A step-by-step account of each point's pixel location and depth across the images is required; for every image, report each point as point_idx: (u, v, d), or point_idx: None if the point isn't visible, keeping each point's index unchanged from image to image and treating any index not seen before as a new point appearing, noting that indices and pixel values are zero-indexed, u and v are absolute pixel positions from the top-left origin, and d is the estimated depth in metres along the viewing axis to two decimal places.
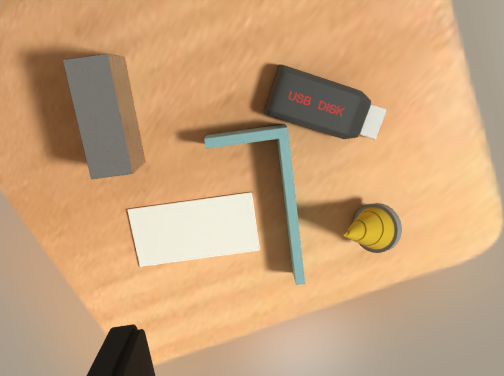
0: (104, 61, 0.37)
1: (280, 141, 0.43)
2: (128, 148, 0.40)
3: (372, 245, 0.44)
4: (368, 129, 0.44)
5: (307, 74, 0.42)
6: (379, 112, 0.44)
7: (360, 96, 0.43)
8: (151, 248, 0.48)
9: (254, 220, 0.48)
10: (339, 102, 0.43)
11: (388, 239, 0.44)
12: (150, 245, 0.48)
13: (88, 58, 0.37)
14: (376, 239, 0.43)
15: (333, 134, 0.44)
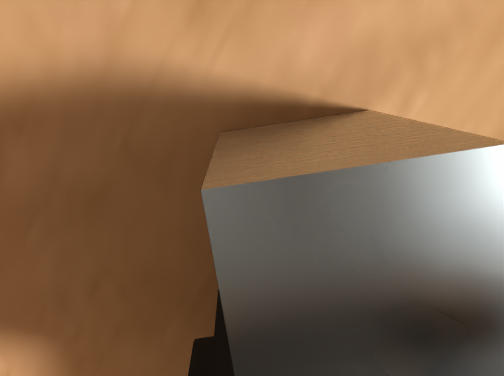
0: (482, 192, 0.05)
1: None
2: None
3: None
4: None
5: None
6: None
7: None
8: None
9: None
10: None
11: None
12: None
13: (378, 175, 0.05)
14: None
15: None
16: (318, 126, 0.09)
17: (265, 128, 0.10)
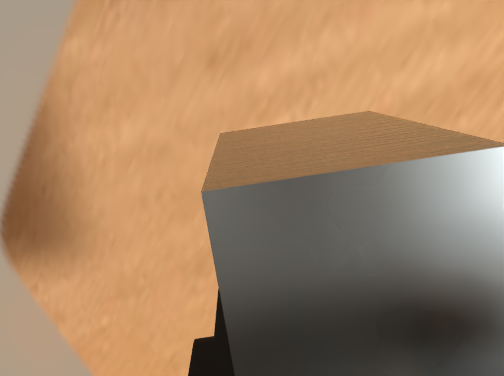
0: (480, 194, 0.05)
1: None
2: None
3: None
4: None
5: None
6: None
7: None
8: None
9: None
10: None
11: None
12: None
13: (377, 177, 0.05)
14: None
15: None
16: (318, 127, 0.09)
17: (265, 129, 0.11)
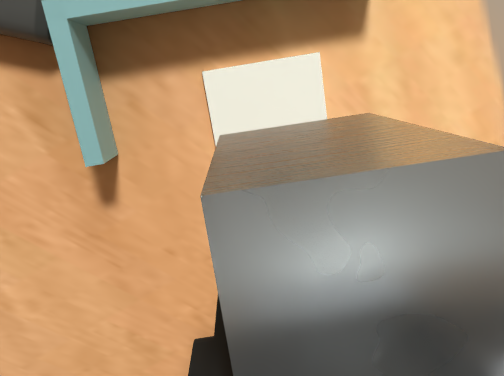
0: (481, 198, 0.05)
1: (72, 15, 0.21)
2: None
3: None
4: None
5: None
6: None
7: None
8: None
9: (257, 64, 0.25)
10: None
11: None
12: None
13: (377, 181, 0.05)
14: None
15: None
16: (318, 129, 0.09)
17: (265, 131, 0.11)
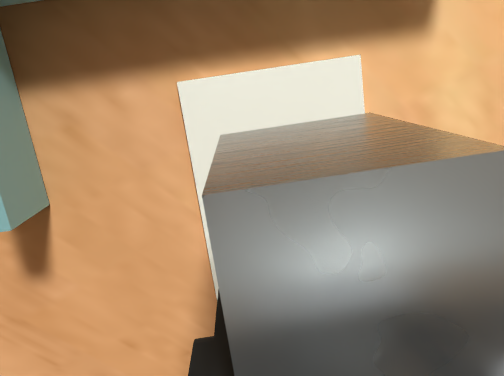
0: (482, 197, 0.05)
1: None
2: None
3: None
4: None
5: None
6: None
7: None
8: None
9: (263, 72, 0.16)
10: None
11: None
12: None
13: (378, 181, 0.05)
14: None
15: None
16: (318, 129, 0.09)
17: (265, 131, 0.11)
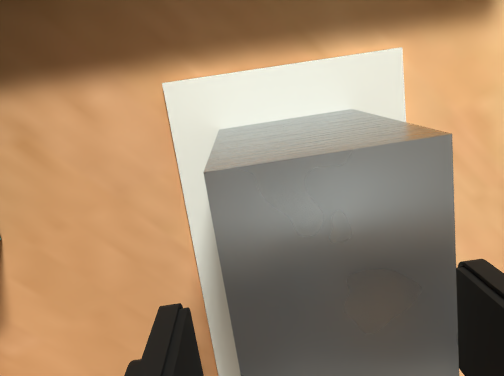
0: (428, 173, 0.07)
1: None
2: None
3: None
4: None
5: None
6: None
7: None
8: None
9: (275, 71, 0.12)
10: None
11: None
12: None
13: (344, 160, 0.07)
14: None
15: None
16: (304, 123, 0.11)
17: (259, 125, 0.12)
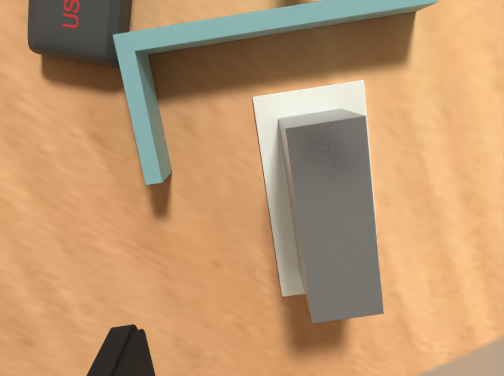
0: (358, 129, 0.21)
1: (140, 48, 0.23)
2: (378, 272, 0.23)
3: None
4: None
5: None
6: None
7: None
8: None
9: (305, 91, 0.26)
10: None
11: None
12: None
13: (330, 124, 0.21)
14: None
15: None
16: (318, 114, 0.25)
17: (297, 116, 0.26)
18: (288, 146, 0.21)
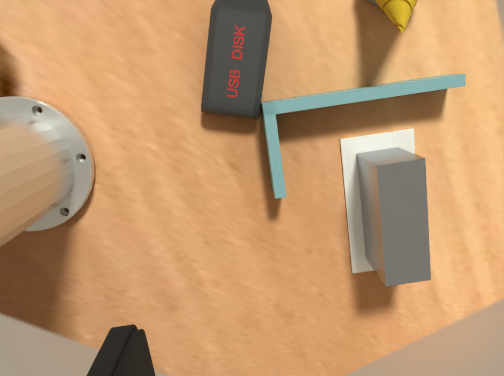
0: (420, 166, 0.34)
1: (279, 112, 0.36)
2: (427, 253, 0.37)
3: None
4: None
5: (205, 79, 0.36)
6: None
7: (217, 7, 0.35)
8: None
9: (375, 135, 0.40)
10: (229, 33, 0.35)
11: None
12: None
13: (404, 163, 0.34)
14: None
15: (268, 31, 0.36)
16: (386, 152, 0.38)
17: (370, 152, 0.39)
18: (377, 176, 0.35)
